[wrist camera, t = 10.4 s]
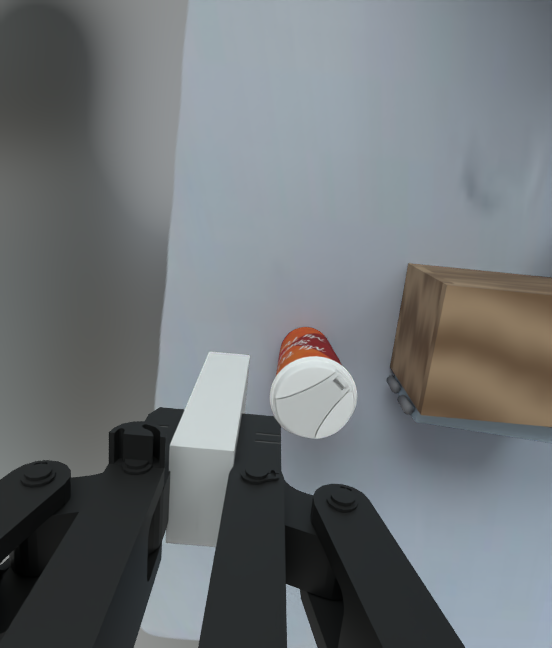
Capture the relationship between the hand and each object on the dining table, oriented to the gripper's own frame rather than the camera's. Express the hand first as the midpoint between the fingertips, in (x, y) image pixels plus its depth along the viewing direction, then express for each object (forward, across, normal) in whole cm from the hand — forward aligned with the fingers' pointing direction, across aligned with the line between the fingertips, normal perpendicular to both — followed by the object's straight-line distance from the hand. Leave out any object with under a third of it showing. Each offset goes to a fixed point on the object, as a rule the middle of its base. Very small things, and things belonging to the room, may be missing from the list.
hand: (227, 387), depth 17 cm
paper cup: (+35, +6, -10) cm, 37 cm away
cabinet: (+34, +25, -5) cm, 43 cm away
